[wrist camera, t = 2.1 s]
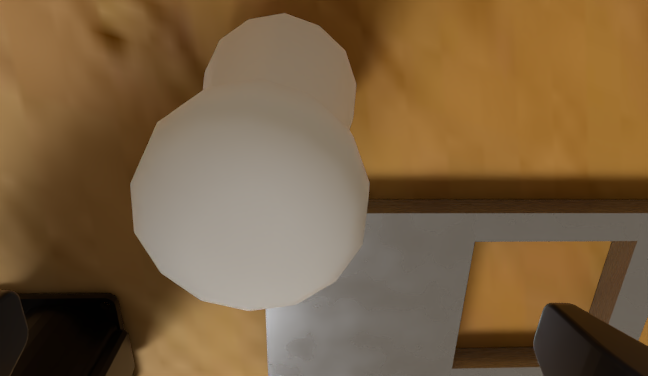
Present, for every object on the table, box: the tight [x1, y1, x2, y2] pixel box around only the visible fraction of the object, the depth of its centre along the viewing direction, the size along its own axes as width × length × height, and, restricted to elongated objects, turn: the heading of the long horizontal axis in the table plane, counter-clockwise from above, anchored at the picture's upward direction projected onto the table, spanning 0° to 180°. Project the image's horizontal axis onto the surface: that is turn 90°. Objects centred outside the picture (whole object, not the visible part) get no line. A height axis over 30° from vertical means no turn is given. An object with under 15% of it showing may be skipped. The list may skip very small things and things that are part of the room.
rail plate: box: [266, 200, 648, 376], centre depth 23 cm, size 20×11×2 cm, turn 89°
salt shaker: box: [130, 13, 370, 311], centre depth 13 cm, size 6×6×13 cm
